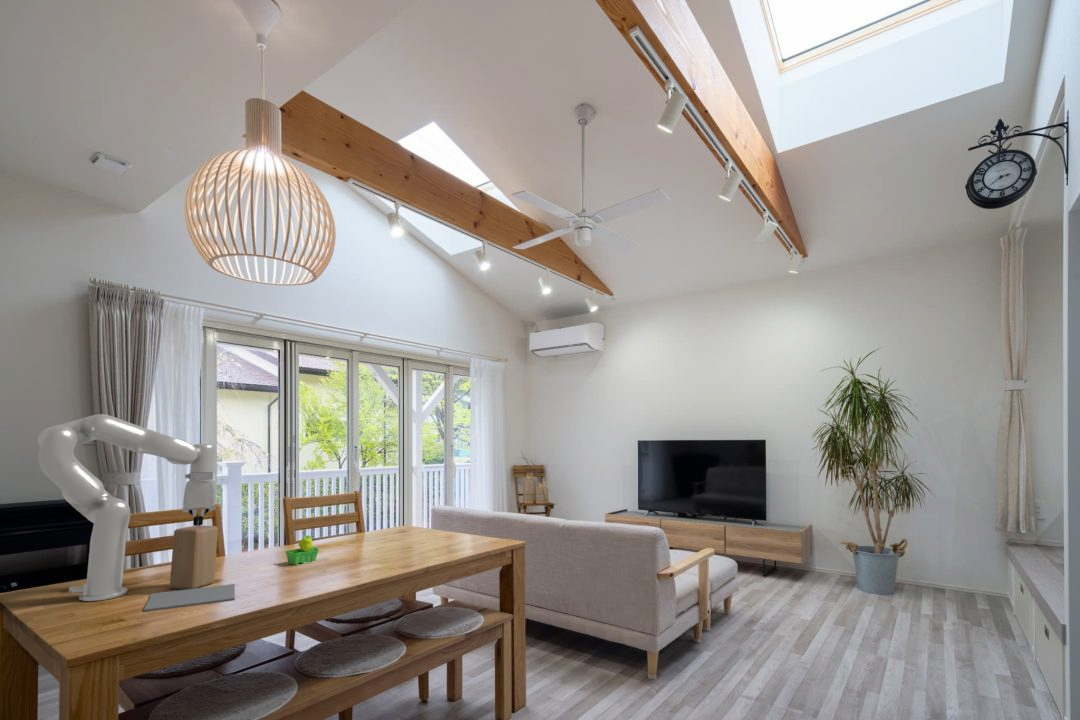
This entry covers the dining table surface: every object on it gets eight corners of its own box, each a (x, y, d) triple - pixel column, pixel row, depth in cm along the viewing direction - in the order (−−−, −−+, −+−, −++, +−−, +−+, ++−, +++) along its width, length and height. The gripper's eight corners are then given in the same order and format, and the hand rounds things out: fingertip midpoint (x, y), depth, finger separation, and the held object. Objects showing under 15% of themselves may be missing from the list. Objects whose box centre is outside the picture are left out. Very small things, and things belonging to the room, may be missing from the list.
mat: (143, 611, 168) (143, 609, 168) (151, 595, 186) (152, 593, 186) (234, 600, 180) (234, 598, 180) (234, 585, 197) (234, 583, 197)
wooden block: (168, 589, 193) (172, 529, 196) (192, 581, 203) (196, 524, 206) (192, 590, 191) (196, 530, 194) (215, 583, 200) (219, 525, 203)
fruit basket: (309, 559, 239) (311, 531, 241) (321, 561, 234) (322, 533, 235) (283, 563, 231) (285, 535, 232) (294, 566, 225) (296, 537, 227)
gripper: (176, 478, 204) (172, 530, 201) (224, 476, 211) (220, 527, 208) (178, 477, 210) (174, 527, 208) (224, 475, 217) (221, 524, 215)
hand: (197, 527), depth 208 cm, fingers closed
